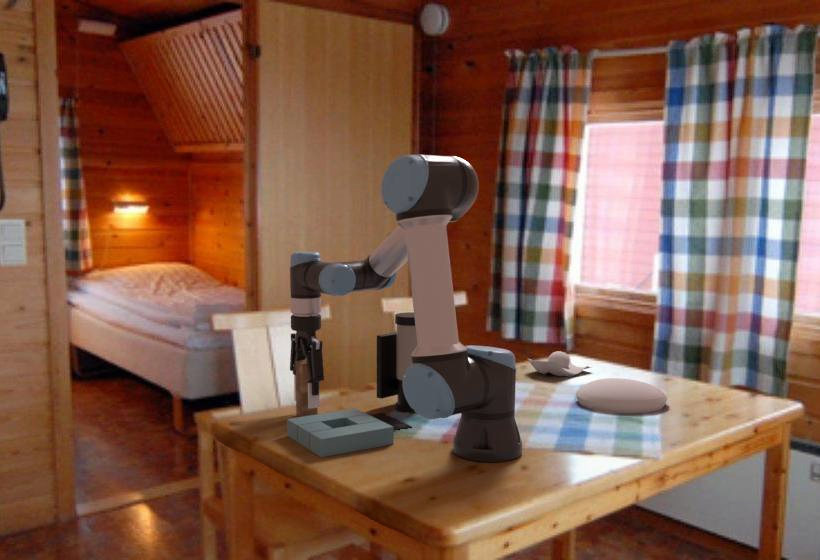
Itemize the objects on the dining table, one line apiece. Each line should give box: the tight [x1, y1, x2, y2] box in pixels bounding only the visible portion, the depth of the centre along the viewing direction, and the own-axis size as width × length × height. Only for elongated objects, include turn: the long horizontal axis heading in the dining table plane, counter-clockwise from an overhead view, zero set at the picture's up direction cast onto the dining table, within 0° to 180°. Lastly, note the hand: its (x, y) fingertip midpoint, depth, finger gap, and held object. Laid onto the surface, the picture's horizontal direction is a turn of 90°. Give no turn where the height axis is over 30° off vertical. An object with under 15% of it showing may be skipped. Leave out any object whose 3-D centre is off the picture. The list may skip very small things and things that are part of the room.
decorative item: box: [575, 377, 668, 414], centre depth 225 cm, size 24×7×20 cm
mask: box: [526, 350, 592, 377], centre depth 261 cm, size 20×8×15 cm
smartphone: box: [369, 412, 413, 431], centre depth 206 cm, size 7×1×15 cm
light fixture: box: [376, 311, 417, 414], centre depth 219 cm, size 12×11×25 cm
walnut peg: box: [295, 360, 318, 417], centre depth 211 cm, size 4×4×14 cm
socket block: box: [286, 408, 395, 458], centre depth 192 cm, size 18×18×4 cm
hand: (306, 403), depth 211 cm, fingers open, 8 cm apart
